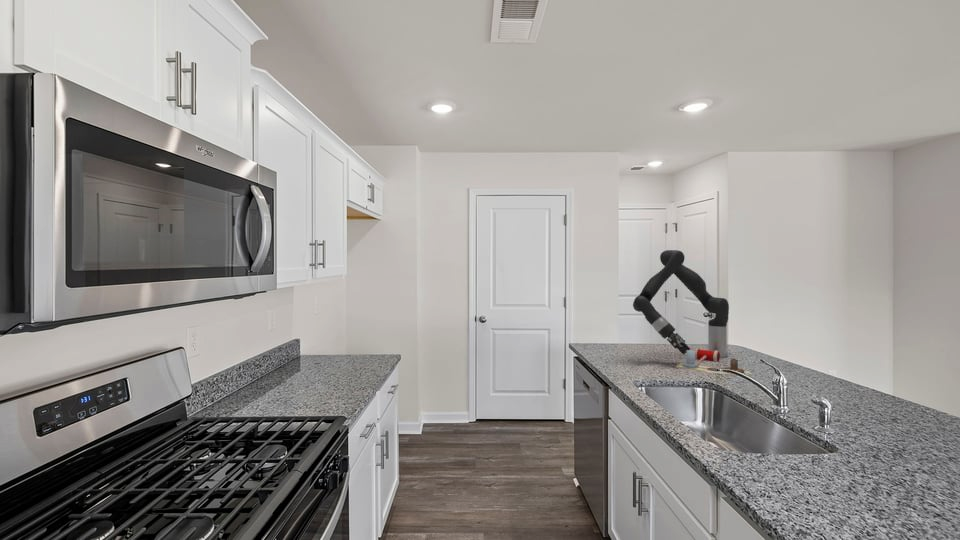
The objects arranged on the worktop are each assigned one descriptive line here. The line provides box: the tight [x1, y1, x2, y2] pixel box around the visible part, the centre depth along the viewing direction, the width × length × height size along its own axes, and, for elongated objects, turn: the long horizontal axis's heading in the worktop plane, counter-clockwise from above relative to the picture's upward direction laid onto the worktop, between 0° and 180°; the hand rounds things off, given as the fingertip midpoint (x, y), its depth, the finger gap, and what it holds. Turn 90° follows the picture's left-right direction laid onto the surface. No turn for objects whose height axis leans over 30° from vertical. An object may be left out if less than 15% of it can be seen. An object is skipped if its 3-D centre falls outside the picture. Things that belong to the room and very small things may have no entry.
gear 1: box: [681, 349, 700, 368], centre depth 220 cm, size 7×7×8 cm
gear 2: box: [723, 357, 745, 373], centre depth 208 cm, size 8×8×7 cm
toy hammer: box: [693, 347, 721, 364], centre depth 233 cm, size 23×12×6 cm, turn 138°
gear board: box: [674, 362, 751, 377], centre depth 214 cm, size 13×31×1 cm, turn 54°
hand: (687, 352), depth 220 cm, fingers open, 8 cm apart
